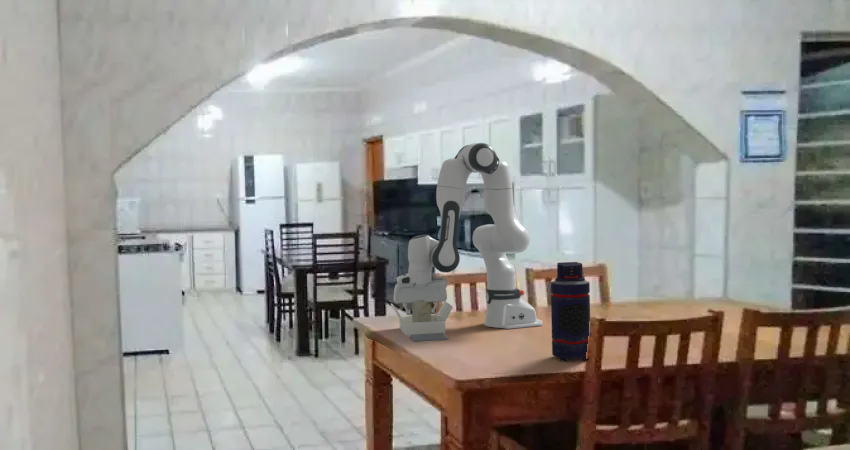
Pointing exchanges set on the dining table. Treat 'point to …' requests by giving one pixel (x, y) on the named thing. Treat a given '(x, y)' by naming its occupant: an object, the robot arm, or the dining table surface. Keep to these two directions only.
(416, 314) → the skincare box
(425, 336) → the mat
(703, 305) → the dining table surface
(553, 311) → the dark blue bottle
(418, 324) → the carton
